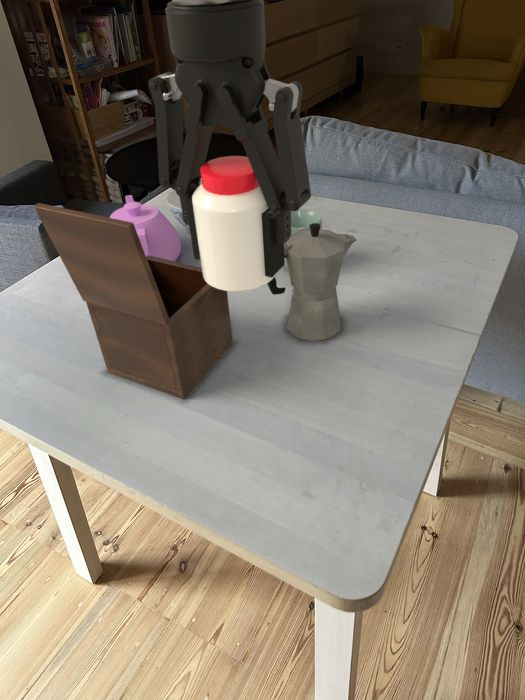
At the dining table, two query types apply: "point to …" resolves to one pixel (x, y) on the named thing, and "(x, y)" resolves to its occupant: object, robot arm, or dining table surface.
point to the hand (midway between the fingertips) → (238, 261)
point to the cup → (303, 221)
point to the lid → (104, 261)
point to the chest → (168, 332)
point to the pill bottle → (230, 224)
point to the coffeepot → (314, 281)
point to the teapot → (151, 229)
